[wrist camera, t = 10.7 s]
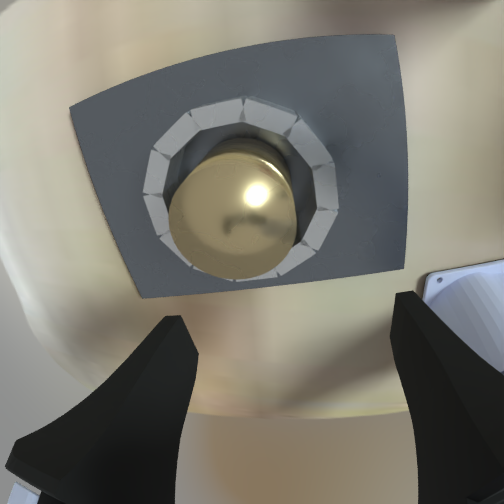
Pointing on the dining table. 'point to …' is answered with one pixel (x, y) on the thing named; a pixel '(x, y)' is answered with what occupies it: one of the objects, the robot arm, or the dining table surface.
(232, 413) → the dining table surface
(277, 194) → the cylinder
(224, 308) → the dining table surface
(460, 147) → the dining table surface
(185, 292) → the socket plate
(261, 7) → the dining table surface
